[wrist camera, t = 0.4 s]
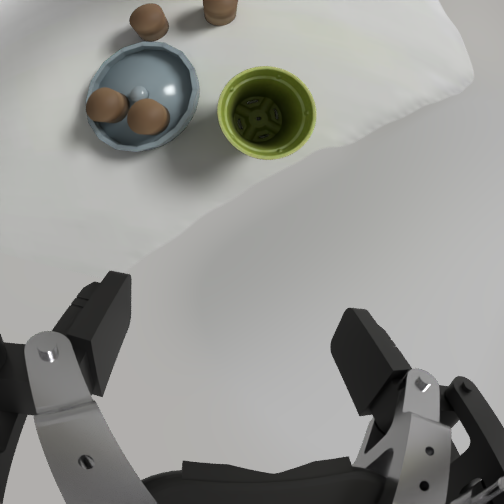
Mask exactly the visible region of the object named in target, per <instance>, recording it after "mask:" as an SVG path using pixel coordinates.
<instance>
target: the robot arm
mask: <svg viewBox="0 0 504 504" xmlns="http://www.w3.org/2000/svg"><path fill="white" fill-rule="evenodd" d="M130 319H131V275H130V274H125V273H120V272H115V271H109V272H108V274H107V275H106V276H105V278H104V279H103V280H102V282H101V283H98V282H93V283H91V284H89V285H87V286H86V287H84V288H83V289H82V290H81V292H80V293H79V294H78V295H77V298H75V299H74V301H73V302H72V304H71V306H69V308H68V309H67V310H66V312H65V313H64V314H63V316H62V317H61V319H60V320H59V321H58V323H57V324H56V326H55V327H54V328H53V330H52V331H44V332H41V333H38V334H35V335H34V336H32V337H31V338H30V339H29V340H28V341H27V343H26V344H15V343H4V342H3V340H2V337H1V334H0V504H2V503H3V498H4V493H5V487H6V483H7V479H8V475H9V471H10V467H11V463H12V460H13V456H14V453H15V449H16V446H17V443H18V440H19V437H20V434H21V431H22V428H23V425H24V423H25V420H26V417H27V415H34V422H35V426H36V430H37V433H38V436H39V439H40V442H41V445H42V448H43V451H44V454H45V456H46V459H47V462H48V464H49V467H50V469H51V472H52V474H53V476H54V479H55V481H56V483H57V485H58V487H59V489H60V492H61V494H62V496H63V498H64V500H65V502H66V504H504V428H503V426H502V424H501V423H500V421H499V420H498V418H497V417H496V415H495V414H494V412H493V410H492V409H491V407H490V406H489V404H488V403H487V401H486V400H485V399H484V397H483V396H482V394H481V393H480V391H479V390H478V389H477V387H476V386H475V385H474V384H473V382H471V381H470V380H469V379H467V378H465V377H461V376H458V377H456V378H455V379H454V380H453V381H452V383H451V384H450V385H449V386H441V385H439V384H438V382H437V381H436V379H435V378H434V377H433V376H432V375H431V374H430V373H428V372H427V371H424V370H422V369H412V368H411V367H410V365H409V364H408V362H407V361H406V360H405V358H404V357H403V355H402V353H401V352H400V351H399V349H398V348H397V347H395V344H394V342H393V341H392V340H390V339H391V338H390V337H389V336H388V334H387V333H386V331H385V330H384V329H383V328H381V327H380V326H379V325H378V324H377V323H376V321H375V320H374V319H373V318H372V316H371V315H370V313H369V312H368V311H367V310H365V309H356V308H348V309H346V311H345V312H344V314H343V316H342V319H341V321H340V323H339V325H338V327H337V329H336V331H335V334H334V336H333V338H332V341H331V353H332V356H333V358H334V360H335V363H336V365H337V367H338V369H339V371H340V373H341V376H342V378H343V380H344V382H345V384H346V386H347V389H348V391H349V393H350V396H351V398H352V400H353V402H354V404H355V407H356V409H357V411H358V414H359V416H365V415H371V414H372V415H373V417H374V418H373V419H372V420H371V421H370V423H369V425H368V428H367V431H366V434H365V437H364V440H363V443H362V446H361V448H360V451H359V454H358V456H357V459H356V461H355V462H354V464H353V465H351V462H350V459H349V457H342V458H336V459H329V460H322V461H315V462H311V463H308V464H306V465H303V466H300V467H297V468H294V469H290V470H287V471H284V472H281V473H276V474H270V473H265V472H259V471H254V470H249V469H245V468H240V467H236V466H232V465H227V464H210V463H199V462H189V461H183V463H182V470H180V471H170V472H165V473H160V474H157V475H153V476H150V477H148V478H145V479H143V480H140V479H139V477H138V476H137V474H136V473H135V471H134V470H133V468H132V466H131V465H130V463H129V462H128V460H127V459H126V457H125V455H124V454H123V452H122V450H121V449H120V447H119V445H118V443H117V442H116V440H115V438H114V436H113V434H112V433H111V431H110V429H109V427H108V425H107V423H106V421H105V419H104V417H103V415H102V413H101V411H100V409H99V407H98V405H97V403H96V402H95V401H93V399H92V397H91V395H92V394H94V395H97V396H101V397H103V394H104V391H105V388H106V385H107V383H108V380H109V377H110V374H111V372H112V369H113V366H114V363H115V361H116V358H117V356H118V353H119V350H120V348H121V345H122V343H123V340H124V338H125V335H126V333H127V330H128V328H129V324H130ZM458 420H460V421H461V423H462V424H463V426H464V428H465V430H466V431H467V433H468V435H469V437H470V446H469V448H468V449H467V450H466V451H465V452H464V453H463V454H462V455H461V456H460V455H459V453H458V451H457V449H456V447H455V445H454V443H453V442H452V439H451V428H452V427H453V426H454V425H455V424H456V423H457V422H458ZM481 479H482V480H481ZM480 480H481V481H480Z"/></svg>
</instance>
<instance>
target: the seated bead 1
mask: <svg viewBox="0 0 504 504" xmlns="http://www.w3.org/2000/svg"><path fill="white" fill-rule="evenodd" d="M129 109H130V102H129V99H128V98H127V97H126V96H125V95H124V94H122V93H119V92H117V91H115V90H112V89H110V88H106V87H103V88H99V89H97V90H96V91H94V92H93V93H92V94H91V95H90V97H89V98H88V101H87V104H86V112H87V115H88V116H89V118H90V119H92V120H93V121H98V122H106V123H118V122H120V121H122V120H123V119H124V118H125V117H126V116H127V114H128V112H129Z"/></svg>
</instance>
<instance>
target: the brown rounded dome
mask: <svg viewBox="0 0 504 504" xmlns="http://www.w3.org/2000/svg"><path fill="white" fill-rule="evenodd" d="M130 25H131V26H132V27H133V29H134V30H135V31H136V32H137V33H138V35H139V36H140V37H141V38H142V39H143V40H145V41H156V40H158V39H160V38H162V37H163V36H164V35H165V34H166V33H167V31H168V29H169V24H168V21H167V19H166V17H165V15H164V13H163V11H162V9H161V7H160V6H159V5H157V4H145V5H142V6H140V7H138V8H137V9H136V10H135V11H134V12H133V13H132V14H131V16H130Z"/></svg>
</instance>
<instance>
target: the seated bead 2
mask: <svg viewBox="0 0 504 504" xmlns="http://www.w3.org/2000/svg"><path fill="white" fill-rule="evenodd" d="M127 122H128V125H129V127H130V129H131V130H132V131H134V132H135V133H137V134H144V135H158V134H160V133H162V132H163V131H165V130H166V128H167V127H168V125H169V123H170V113H169V111H168V109H167V108H166V107H165V106H163V105H162V104H160V103H158V102H157V101H155V100H153V99H148V98H146V99H141V100H139V101H137V102H135V103H134V104H133V105H132V106H131V108H130V109H129V112H128V115H127Z"/></svg>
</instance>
